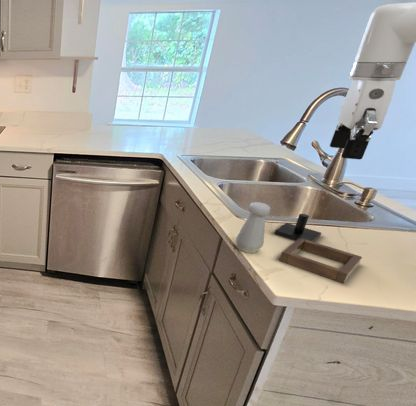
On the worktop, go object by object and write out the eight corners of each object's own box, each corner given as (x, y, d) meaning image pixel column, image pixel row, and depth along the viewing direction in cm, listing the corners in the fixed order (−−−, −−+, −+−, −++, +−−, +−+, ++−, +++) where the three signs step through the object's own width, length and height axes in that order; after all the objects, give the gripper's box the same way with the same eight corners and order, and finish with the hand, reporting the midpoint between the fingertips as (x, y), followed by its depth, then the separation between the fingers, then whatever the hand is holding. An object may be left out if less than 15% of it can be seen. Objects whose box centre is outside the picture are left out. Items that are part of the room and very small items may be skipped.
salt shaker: (251, 243, 98) (264, 199, 93) (266, 254, 93) (281, 208, 88) (229, 243, 99) (241, 199, 94) (242, 255, 93) (256, 209, 88)
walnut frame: (358, 265, 88) (362, 256, 87) (343, 283, 81) (347, 274, 80) (296, 245, 97) (299, 237, 96) (278, 260, 91) (282, 252, 90)
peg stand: (320, 236, 101) (328, 216, 98) (310, 245, 97) (318, 224, 94) (285, 226, 107) (291, 206, 105) (274, 234, 103) (280, 214, 100)
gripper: (421, 75, 66) (382, 165, 73) (385, 68, 79) (355, 145, 86) (364, 74, 69) (332, 160, 76) (339, 68, 83) (314, 142, 90)
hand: (344, 152), depth 81 cm, fingers open, 9 cm apart
